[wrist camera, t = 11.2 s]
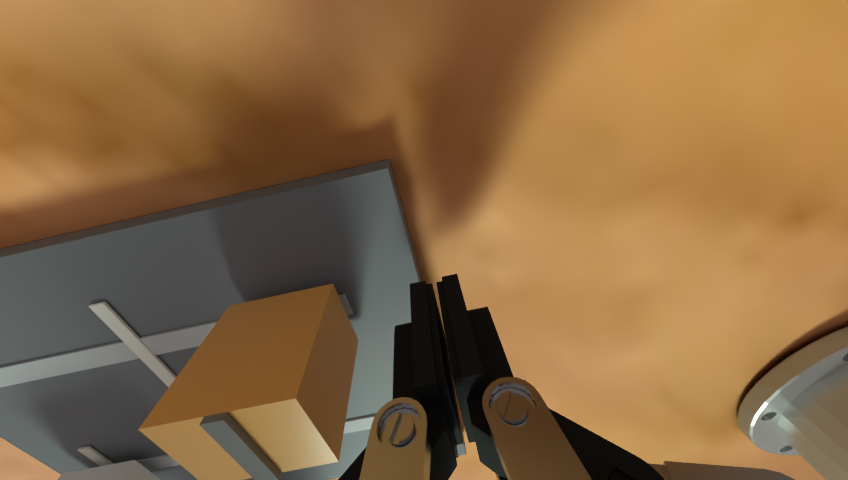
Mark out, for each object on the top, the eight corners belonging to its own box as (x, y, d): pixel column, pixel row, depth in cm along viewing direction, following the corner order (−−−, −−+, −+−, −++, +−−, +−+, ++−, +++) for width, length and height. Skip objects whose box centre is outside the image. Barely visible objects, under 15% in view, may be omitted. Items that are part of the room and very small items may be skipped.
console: (389, 159, 11) (387, 169, 10) (462, 433, 20) (466, 456, 18) (-159, 285, 12) (-220, 309, 11) (142, 493, 21) (126, 519, 19)
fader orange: (332, 283, 11) (292, 406, 7) (358, 340, 13) (337, 469, 9) (229, 305, 11) (131, 438, 7) (266, 359, 13) (202, 494, 9)
